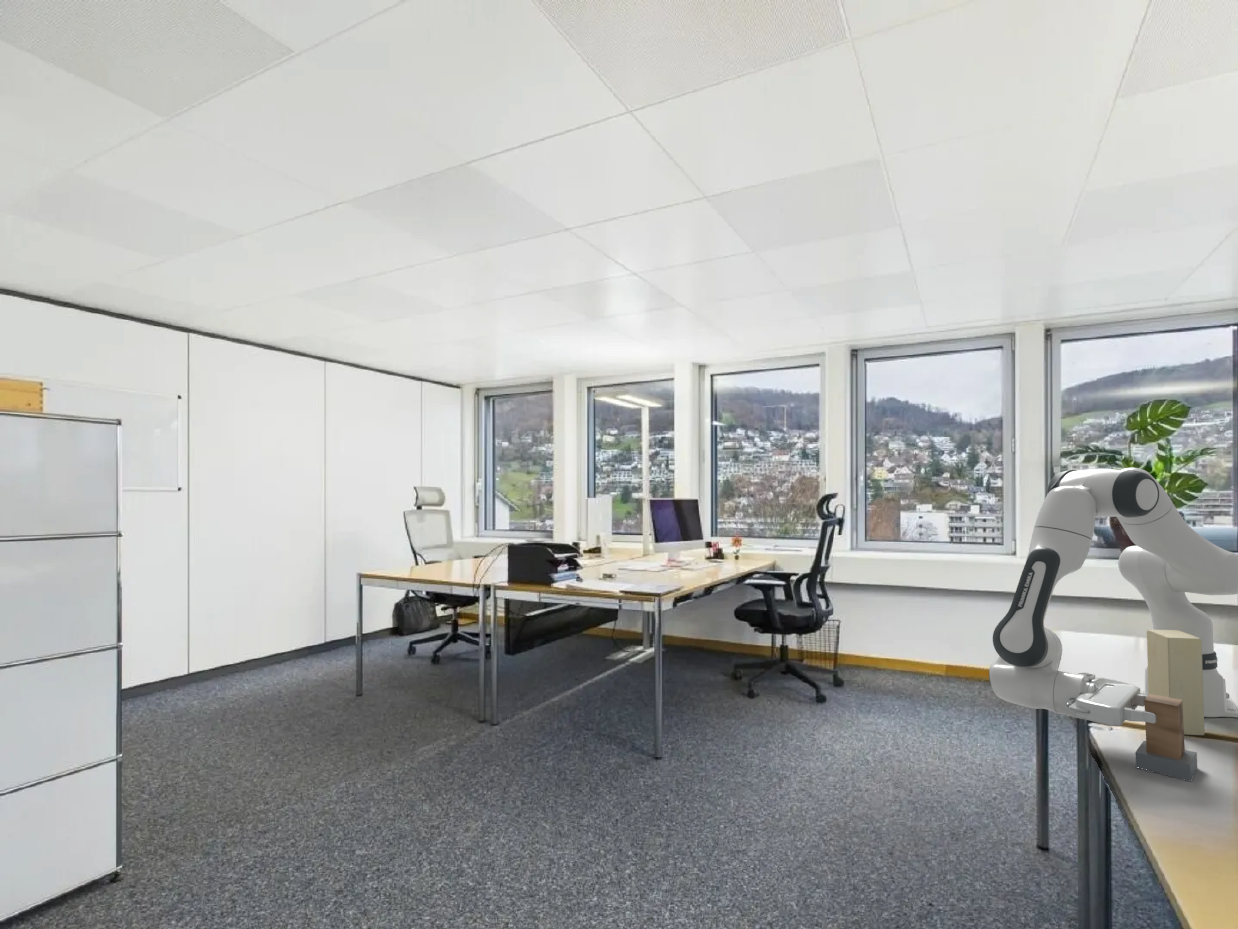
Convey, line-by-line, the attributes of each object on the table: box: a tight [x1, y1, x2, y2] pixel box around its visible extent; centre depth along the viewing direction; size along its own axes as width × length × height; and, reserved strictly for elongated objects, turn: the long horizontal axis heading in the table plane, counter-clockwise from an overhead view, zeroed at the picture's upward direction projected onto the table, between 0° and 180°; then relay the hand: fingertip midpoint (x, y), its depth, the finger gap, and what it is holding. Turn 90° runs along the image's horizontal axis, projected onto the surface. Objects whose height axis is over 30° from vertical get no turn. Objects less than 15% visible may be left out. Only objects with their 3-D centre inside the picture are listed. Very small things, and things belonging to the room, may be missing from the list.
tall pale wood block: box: [1146, 629, 1205, 736], centre depth 145 cm, size 8×7×21 cm
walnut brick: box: [1144, 694, 1186, 760], centre depth 125 cm, size 5×5×10 cm
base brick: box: [1134, 740, 1198, 782], centre depth 125 cm, size 8×8×3 cm
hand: (1160, 712), depth 126 cm, fingers open, 8 cm apart
